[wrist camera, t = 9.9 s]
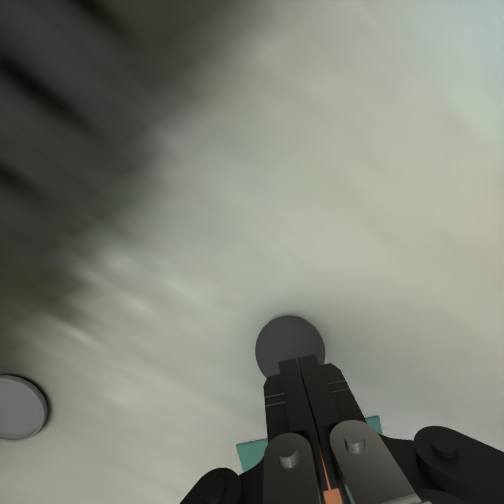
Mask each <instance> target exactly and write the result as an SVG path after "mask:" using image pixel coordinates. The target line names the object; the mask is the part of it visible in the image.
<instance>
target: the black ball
mask: <svg viewBox="0 0 504 504" xmlns="http://www.w3.org/2000/svg"><path fill="white" fill-rule="evenodd" d="M255 351H256V360H257V363H258V366H259V368H260V370H261V372H262V373H263V375H264V376H265V377H266V378H268V376H273V375H278V374H280V369H279V363H278V361H279V360H284V359H289V358H293V357H296V361H297V364H298V360H297V357H298V356H302V355H307V354H312V353H315V355H316V358H317V360H318V363H319V365H324V360H325V347H324V343H323V340H322V338H321V336H320V334H319V332H318V331H317V330H316V328H315V327H314V326H313V325H312V324H310V323H309V322H308V321H306V320H304V319H302V318H299V317H295V316H283V317H279V318H276V319H274V320H272V321H271V322H269V323H268V324H267V325H266V326H265V327H264V328H263V329H262V331H261V332H260V334H259V336H258V339H257V342H256V349H255ZM298 368H299V365H298ZM299 371H300V369H299ZM300 375H301V374H300Z"/></svg>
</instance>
